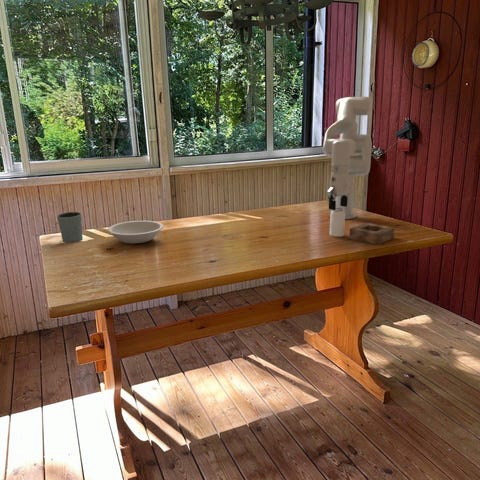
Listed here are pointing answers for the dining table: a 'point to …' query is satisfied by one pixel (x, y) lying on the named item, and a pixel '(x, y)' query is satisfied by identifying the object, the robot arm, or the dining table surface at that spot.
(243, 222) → the dining table surface
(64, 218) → the grey green cup
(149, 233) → the soup bowl
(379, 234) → the socket block
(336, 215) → the can
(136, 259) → the dining table surface
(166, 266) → the dining table surface
